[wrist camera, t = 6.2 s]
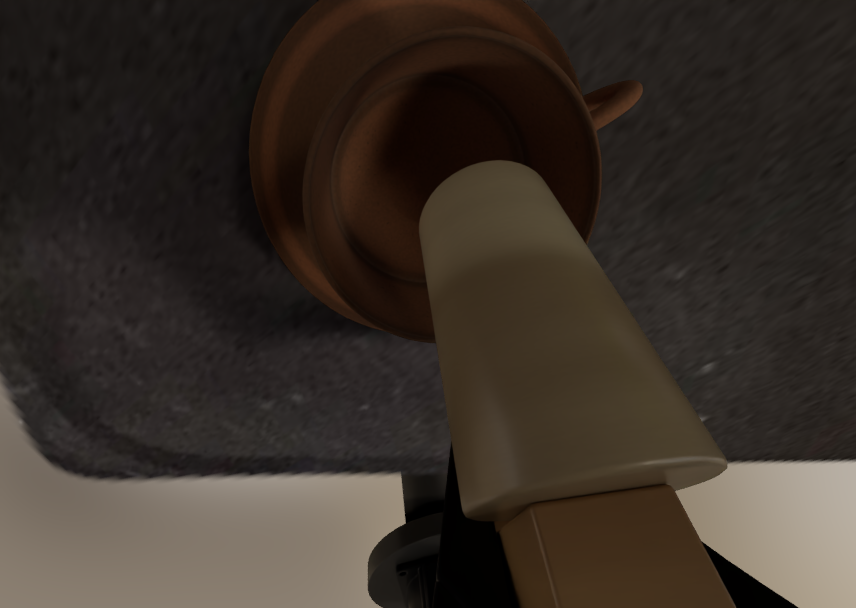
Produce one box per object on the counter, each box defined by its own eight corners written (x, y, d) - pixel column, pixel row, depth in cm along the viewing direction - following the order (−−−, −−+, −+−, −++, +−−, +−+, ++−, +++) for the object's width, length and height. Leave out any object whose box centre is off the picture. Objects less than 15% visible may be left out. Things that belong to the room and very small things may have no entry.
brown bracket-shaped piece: (499, 391, 15) (556, 600, 10) (434, 400, 15) (463, 615, 10) (566, 150, 6) (1062, 748, 2) (412, 167, 6) (529, 845, 2)
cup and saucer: (401, -123, 9) (443, -482, 4) (614, 166, 14) (766, 184, 9) (205, 207, 12) (77, 260, 7) (436, 353, 17) (466, 452, 12)
